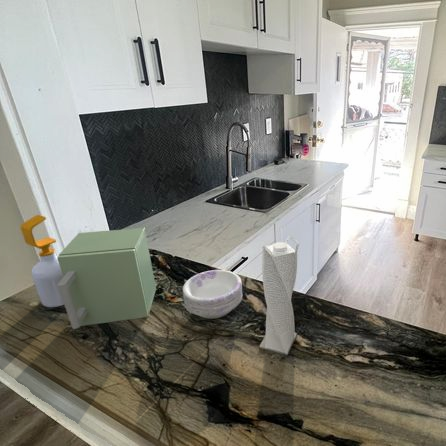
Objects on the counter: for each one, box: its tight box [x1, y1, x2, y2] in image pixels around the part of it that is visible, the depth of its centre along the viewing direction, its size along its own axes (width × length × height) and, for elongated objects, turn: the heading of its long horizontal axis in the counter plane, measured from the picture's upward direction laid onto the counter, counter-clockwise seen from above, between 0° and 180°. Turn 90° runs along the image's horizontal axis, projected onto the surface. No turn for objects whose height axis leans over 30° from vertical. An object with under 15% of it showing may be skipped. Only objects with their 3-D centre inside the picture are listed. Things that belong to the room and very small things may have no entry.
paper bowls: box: [182, 269, 243, 320], centre depth 85 cm, size 15×15×8 cm
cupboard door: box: [57, 249, 150, 330], centre depth 74 cm, size 7×16×20 cm, turn 104°
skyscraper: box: [258, 236, 300, 356], centre depth 69 cm, size 8×8×28 cm
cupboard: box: [58, 227, 157, 315], centre depth 83 cm, size 12×16×20 cm
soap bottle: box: [20, 214, 65, 308], centre depth 84 cm, size 9×9×25 cm
